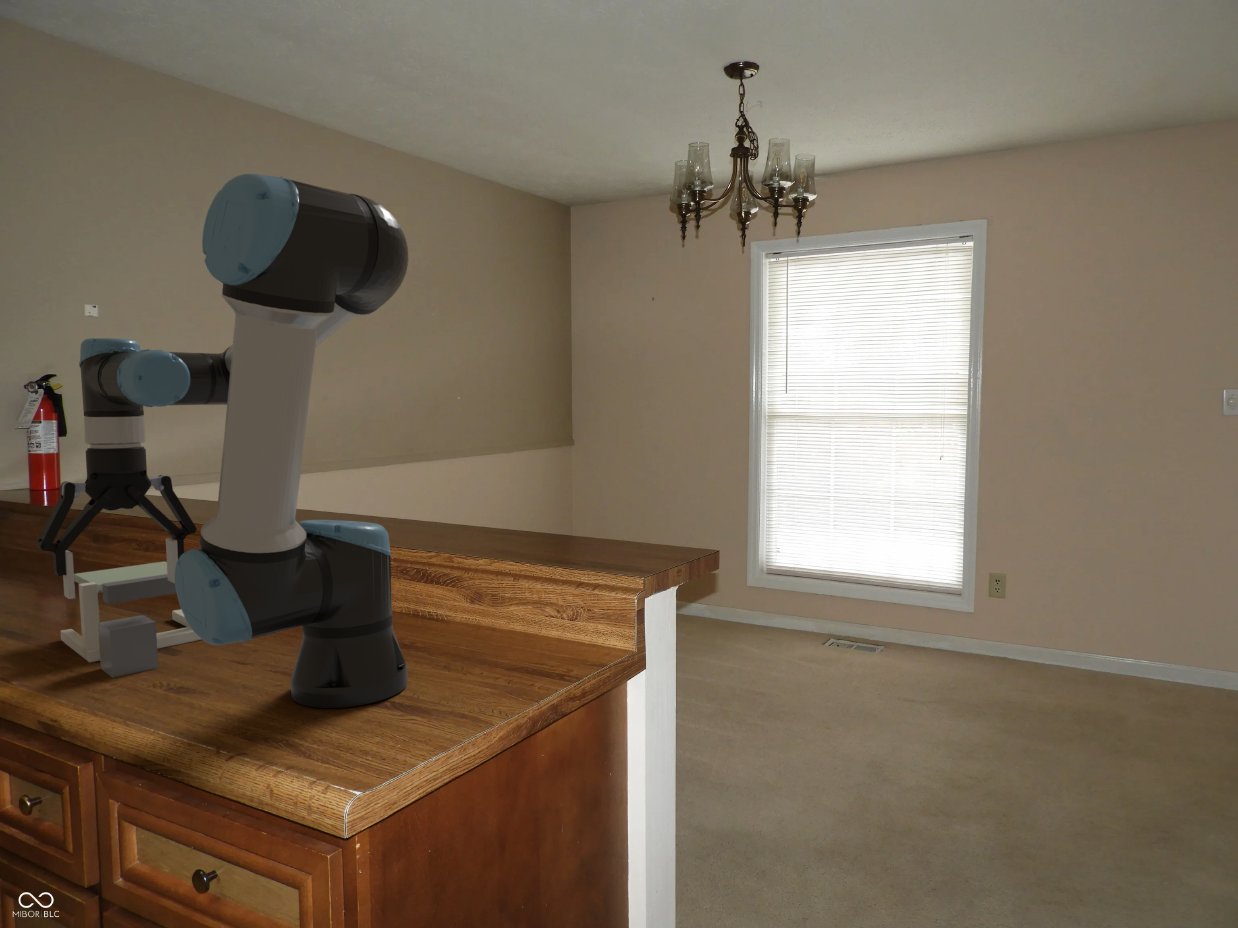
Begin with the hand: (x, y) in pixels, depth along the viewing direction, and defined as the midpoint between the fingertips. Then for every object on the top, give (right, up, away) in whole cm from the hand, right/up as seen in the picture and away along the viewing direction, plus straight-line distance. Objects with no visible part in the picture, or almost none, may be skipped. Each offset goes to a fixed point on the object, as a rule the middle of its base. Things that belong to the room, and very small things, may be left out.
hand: (123, 589), depth 122 cm
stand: (-7, -11, +16) cm, 21 cm away
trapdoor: (-7, -2, +15) cm, 17 cm away
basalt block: (0, -12, +1) cm, 12 cm away
